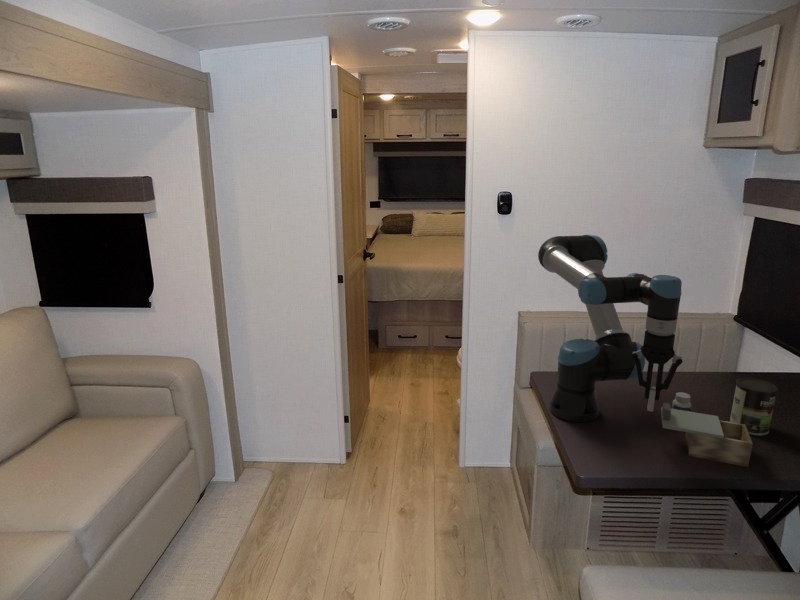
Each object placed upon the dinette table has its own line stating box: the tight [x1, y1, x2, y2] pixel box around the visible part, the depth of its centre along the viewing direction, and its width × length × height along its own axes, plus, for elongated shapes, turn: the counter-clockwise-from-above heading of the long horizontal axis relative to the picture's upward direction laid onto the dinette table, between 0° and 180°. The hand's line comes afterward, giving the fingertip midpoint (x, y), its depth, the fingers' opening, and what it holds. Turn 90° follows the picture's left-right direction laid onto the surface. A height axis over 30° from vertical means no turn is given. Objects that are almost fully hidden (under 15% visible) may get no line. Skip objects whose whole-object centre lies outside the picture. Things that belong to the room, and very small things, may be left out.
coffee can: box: [728, 377, 779, 437], centre depth 157 cm, size 10×10×14 cm
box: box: [685, 419, 754, 468], centre depth 145 cm, size 14×11×7 cm
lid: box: [660, 402, 724, 439], centre depth 147 cm, size 15×12×4 cm
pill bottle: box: [671, 391, 693, 412], centre depth 161 cm, size 5×5×9 cm
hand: (650, 409), depth 150 cm, fingers closed
